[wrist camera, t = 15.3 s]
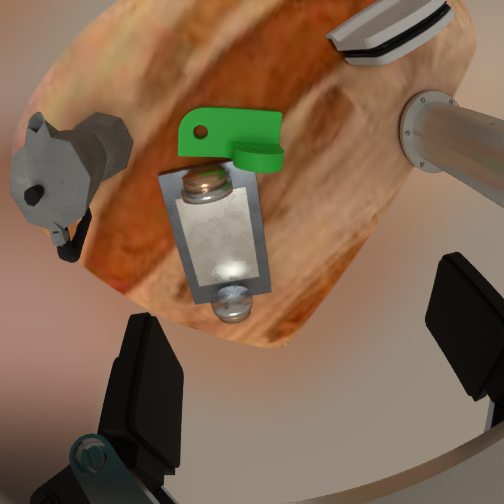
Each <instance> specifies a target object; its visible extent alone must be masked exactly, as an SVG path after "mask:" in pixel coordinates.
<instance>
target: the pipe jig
mask: <svg viewBox="0 0 504 504" xmlns="http://www.w3.org/2000/svg"><path fill="white" fill-rule="evenodd" d="M158 179H159V183H160V187H161V191H162V194H163V198H164V202H165V206H166V209H167V213H168V216H169V220H170V224H171V227H172V231H173V234H174V237H175V241H176V244H177V248H178V251H179V254H180V258H181V261H182V264H183V267H184V271H185V274H186V277H187V280H188V283H189V286H190V290H191V293H192V296H193V299H194V302H195V305H196V304H203V303H209V302H211V307H212V310H213V312H214V314H215V315H217V316H218V318H219V319H220V320H221V321H222V322H224V323H228V324H235V323H239V322H242V321H244V320H245V319H247V318H248V317H249V315H250V313H251V308H252V306H253V298H252V295H258V294H264V293H270V292H271V284H270V276H269V269H268V261H267V254H266V246H265V239H264V231H263V224H262V217H261V209H260V202H259V195H258V188H257V181H256V174H255V172H250V171H245V170H241V169H238V168H236V167H235V166H234V165H233V161H232V159H226V160H220V161H215V162H210V163H204V164H199V165H194V166H189V167H184V168H179V169H175V170H170V171H165V172H161V173H159V175H158Z"/></svg>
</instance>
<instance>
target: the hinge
mask: <svg viewBox="0 0 504 504" xmlns="http://www.w3.org/2000/svg"><path fill="white" fill-rule="evenodd" d="M446 3H447V1H446V0H377V1H376V2H374V3H373V4H371V5H369V6H368V7H366V8H365V9H363V10H362V11H360V12H358V13H357V14H355V15H354V16H352V17H351V18H349V19H348V20H346V21H345V22H343V23H342V24H341V25H339V26H338V27H336V28H335V29H333V30H332V31H331V32H329V33H328V34H326V35H325V37H326V38H327V39H332V41H333V42H334V44H335V46H336V48H337V50H338V51H342V52H348V53H347V54H346V55H345V56H346V58H345V60H346V61H347V62H348V63H349V64H350V65H375V66H383V65H387V64H389V63H391V62H393V61H394V60H396V59H398V58H400V57H402V56H404V55H406V54H407V53H409V52H411V51H412V50H414V49H416V48H417V47H419V46H421V45H422V44H424V43H425V42H427V41H428V40H430V39H431V38H433V37H434V36H435V35H436V34H438V33H439V32H440V31H441V30H443V29H444V28H445V27H446V26H447V25H448V24H449V23H450V22H451V20H452V19H453V18H454V13H453V9H452V7H450V6H449V5H448V4H446Z"/></svg>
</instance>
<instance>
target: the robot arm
mask: <svg viewBox="0 0 504 504" xmlns="http://www.w3.org/2000/svg"><path fill="white" fill-rule="evenodd" d="M400 139H401V144H402V148H403V151H404V153H405V155H406V157H407V158H408V159H409V161H410V162H411V163H412V164H413V165H414V166H416V167H417V168H419V169H421V170H423V171H425V172H429V173H438V172H441V171H445V172H447V173H448V174H450V175H452V176H453V177H455V178H457V179H458V180H460V181H462V182H463V183H465V184H467V185H469V186H470V187H472V188H473V189H475V190H476V191H478V192H479V193H481V194H482V195H484V196H486V197H487V198H489V199H490V200H492V201H493V202H495V203H496V204H498V205H499V206H501V207H503V208H504V120H501V119H498V118H495V117H492V116H489V115H486V114H482V113H479V112H475V111H473V110H469V109H466V108H462V107H459V105H458V104H457V102H455V100H454V99H453V98H452V97H450V96H449V95H447V94H445V93H443V92H440V91H434V90H429V91H424V92H421V93H419V94H417V95H416V96H415V97H414V98H412V100H411V101H410V102H409V103H408V105H407V106H406V108H405V110H404V112H403V115H402V118H401V124H400ZM425 323H426V326H427V328H428V329H429V331H430V332H431V334H432V336H433V337H434V338H435V340H436V342H437V343H438V345H439V347H440V348H441V350H442V352H443V353H444V355H445V356H446V358H447V360H448V361H449V363H450V365H451V366H452V368H453V370H454V372H455V373H456V375H457V377H458V378H459V380H460V382H461V384H462V386H463V387H464V389H465V391H466V393H467V394H468V395H469V396H472V398H473V400H474V401H475V402H476V401H478V400H480V399H482V398H483V397H485V396H486V395H487V394H488V396H489V397H490V402H489V409H488V414H487V420H486V425H485V429H484V433H483V434H481V435H479V436H478V437H476V438H474V439H472V440H470V441H469V442H467V443H465V444H463V445H461V446H459V447H457V448H455V449H453V450H452V451H449V452H447V453H445V454H443V455H441V456H439V457H437V458H435V459H432V460H430V461H428V462H426V463H423V464H421V465H419V466H416V467H414V468H412V469H409V470H406V471H404V472H401V473H398V474H396V475H393V476H390V477H388V478H385V479H382V480H379V481H376V482H373V483H369V484H367V485H363V486H360V487H357V488H353V489H349V490H345V491H342V492H338V493H334V494H330V495H325V496H321V497H317V498H312V499H307V500H302V501H296V502H291V503H285V504H504V299H503V297H502V296H501V295H500V294H499V293H498V292H497V291H496V290H495V289H494V287H493V286H492V285H491V284H490V283H489V282H488V281H487V280H486V279H485V278H484V277H483V276H482V275H481V273H480V272H478V270H477V269H476V268H475V267H474V266H473V265H472V264H471V263H470V262H469V261H468V260H467V259H466V258H465V257H464V256H463V255H462V254H461V253H459V252H454V253H450V254H446V255H444V256H443V257H442V259H441V260H440V261H439V264H438V268H437V273H436V277H435V281H434V286H433V290H432V294H431V297H430V301H429V305H428V309H427V312H426V316H425ZM183 381H184V374H183V370H182V367H181V365H180V363H179V361H178V360H177V358H176V356H175V354H174V352H173V350H172V348H171V346H170V344H169V342H168V340H167V338H166V336H165V334H164V332H163V330H162V327H161V325H160V323H159V321H158V319H157V318H156V317H155V316H151V315H150V313H148V312H146V313H139V314H132V315H131V316H130V318H129V321H128V324H127V328H126V331H125V335H124V339H123V342H122V346H121V350H120V354H119V357H117V358H116V359H115V360H114V363H113V366H112V370H111V374H110V378H109V382H108V386H107V390H106V394H105V399H104V403H103V408H102V412H101V417H100V422H99V427H98V432H97V434H93V433H91V434H85V435H83V436H81V437H79V438H78V439H77V440H76V441H75V442H74V443H73V445H72V446H71V448H70V453H69V463H70V464H69V465H68V466H67V467H66V468H64V469H63V470H62V471H60V472H59V473H58V474H57V475H55V476H54V477H53V478H51V479H50V480H48V481H47V482H46V483H44V484H43V485H42V486H41V487H39V488H38V489H37V490H36V491H35V492H34V493H33V494H32V496H31V499H30V504H179V503H178V502H177V501H176V500H175V499H174V497H173V496H172V495H171V494H170V493H169V492H168V491H167V490H166V489H165V487H164V486H163V485H164V475H175V468H178V467H179V466H180V450H181V421H182V420H181V419H182V399H183V383H184V382H183Z"/></svg>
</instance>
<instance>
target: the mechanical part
mask: <svg viewBox="0 0 504 504" xmlns="http://www.w3.org/2000/svg"><path fill="white" fill-rule="evenodd" d="M281 119H282V112H280V111H271V110H260V109H246V108H229V107H199V108H196V109H194V110H192V111H190V112H189V113H188V114H187V115H186V116H185V117H184V118H183V120H182V121H181V123H180V126H179V133H178V156H200V157H226V158H230V159H232V161H233V165H234V166H235V167H236V168H238V169H241V170H245V171H250V172H258V173H273V172H278V171H281V170H282V166H283V158H284V150H283V149H282V148H281V147H280V145H279V137H280V128H281ZM198 125H203V126H205V127H206V128H207V129H208V134H207V135H206V136H204V137H198V136H197V135H196V134H195V133H194V128H195V127H196V126H198Z"/></svg>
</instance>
